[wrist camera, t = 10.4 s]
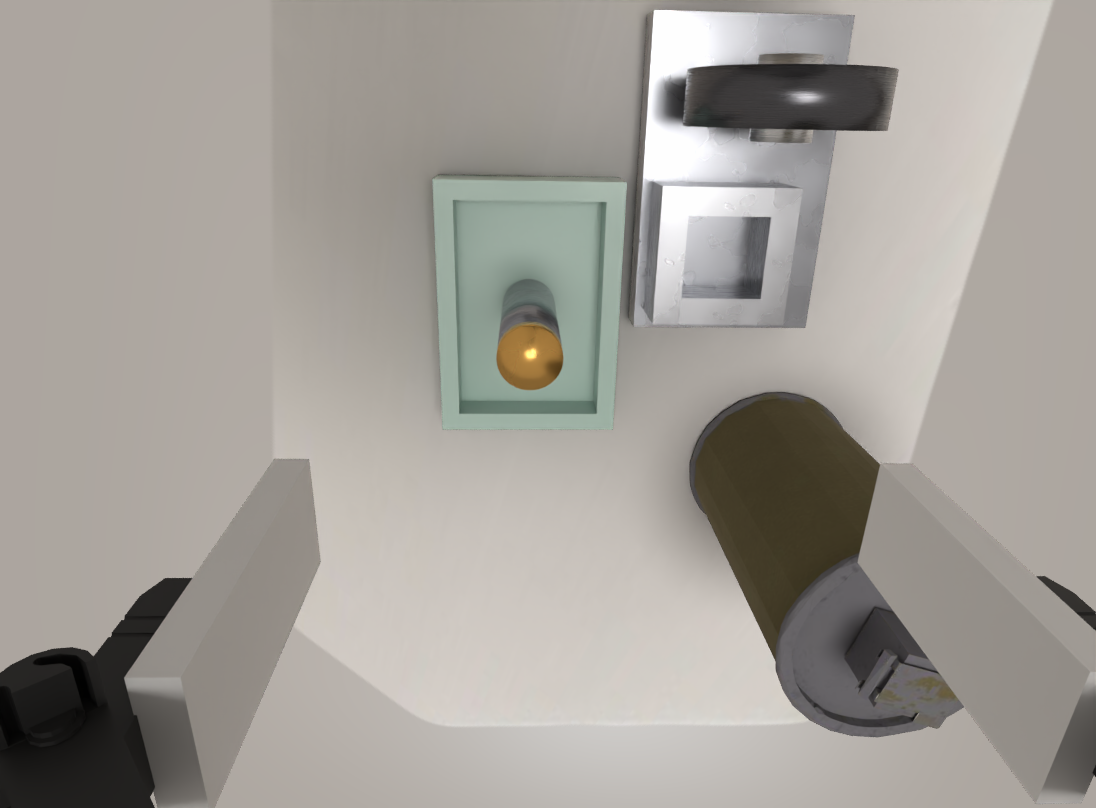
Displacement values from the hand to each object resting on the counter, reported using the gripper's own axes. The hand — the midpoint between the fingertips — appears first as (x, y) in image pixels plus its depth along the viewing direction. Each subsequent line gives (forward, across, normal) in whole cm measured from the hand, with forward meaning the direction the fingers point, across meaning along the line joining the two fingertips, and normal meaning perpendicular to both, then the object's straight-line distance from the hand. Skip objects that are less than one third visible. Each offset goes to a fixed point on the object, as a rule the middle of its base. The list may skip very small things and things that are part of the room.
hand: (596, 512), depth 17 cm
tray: (+27, -1, -2) cm, 27 cm away
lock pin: (+26, -1, -2) cm, 26 cm away
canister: (+27, +15, -13) cm, 33 cm away
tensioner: (+27, +10, +5) cm, 29 cm away
